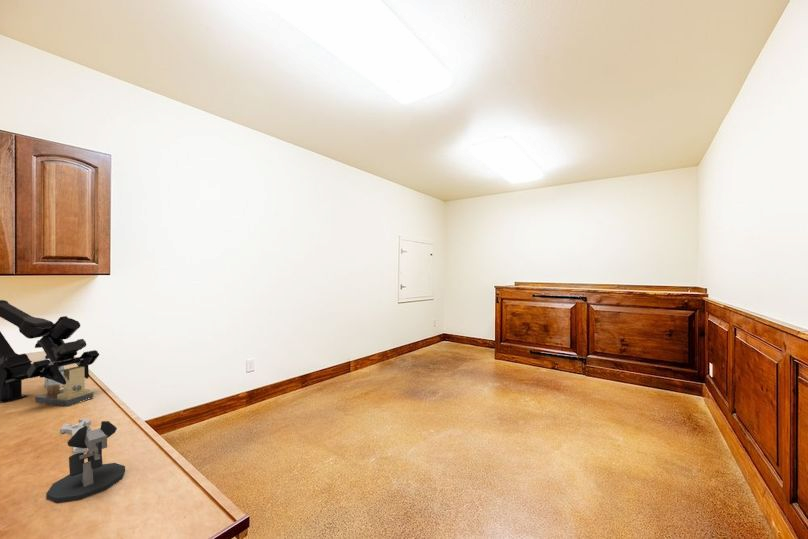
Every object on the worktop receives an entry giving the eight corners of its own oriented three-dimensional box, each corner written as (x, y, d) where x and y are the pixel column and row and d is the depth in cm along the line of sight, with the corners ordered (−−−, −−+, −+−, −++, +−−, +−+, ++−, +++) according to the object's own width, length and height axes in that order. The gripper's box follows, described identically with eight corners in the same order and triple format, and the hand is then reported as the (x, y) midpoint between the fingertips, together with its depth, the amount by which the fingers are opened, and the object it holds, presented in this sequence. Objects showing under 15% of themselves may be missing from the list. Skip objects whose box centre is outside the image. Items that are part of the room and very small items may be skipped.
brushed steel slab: (35, 402, 121) (35, 388, 121) (63, 394, 129) (63, 381, 129) (66, 406, 117) (66, 392, 117) (93, 398, 125) (92, 384, 125)
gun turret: (112, 451, 87) (112, 401, 87) (132, 481, 74) (132, 422, 74) (40, 474, 77) (40, 418, 77) (49, 514, 64) (49, 446, 65)
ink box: (44, 385, 140) (44, 357, 140) (61, 382, 144) (60, 354, 144) (47, 390, 134) (47, 360, 135) (64, 386, 138) (64, 357, 139)
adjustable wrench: (88, 454, 87) (88, 447, 87) (52, 464, 82) (51, 457, 82) (90, 422, 105) (90, 416, 105) (61, 428, 101) (61, 422, 101)
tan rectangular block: (57, 399, 119) (57, 370, 119) (80, 392, 126) (80, 365, 126) (67, 400, 118) (66, 371, 118) (90, 393, 124) (90, 366, 124)
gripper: (32, 338, 114) (54, 373, 111) (95, 329, 132) (116, 359, 129) (17, 360, 116) (38, 395, 113) (81, 348, 134) (101, 378, 131)
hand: (76, 380), depth 121 cm, fingers open, 6 cm apart
